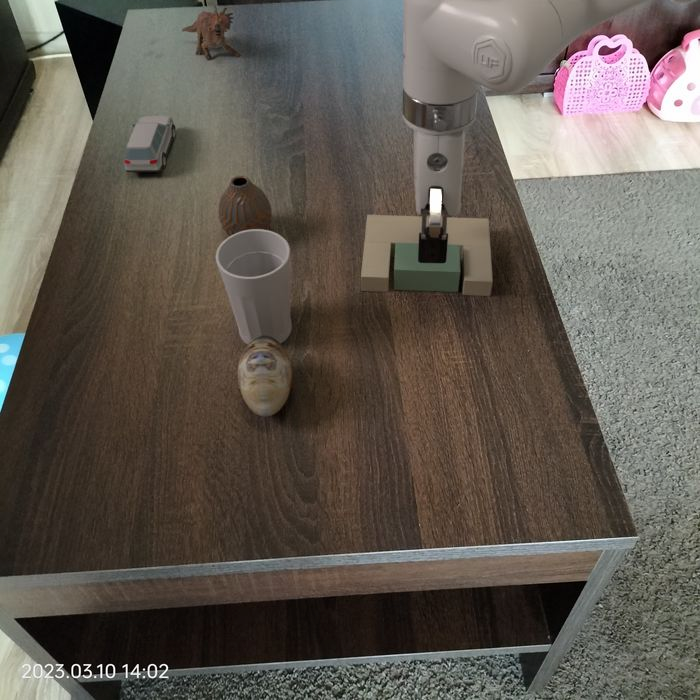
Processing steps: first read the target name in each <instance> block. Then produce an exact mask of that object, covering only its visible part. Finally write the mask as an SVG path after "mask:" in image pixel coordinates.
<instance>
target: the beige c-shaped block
mask: <svg viewBox="0 0 700 700" xmlns="http://www.w3.org/2000/svg"><path fill="white" fill-rule="evenodd" d="M427 226H429V216H427V220H426V228H427ZM441 227H442V216H441ZM421 229H422V215H419V216H418V215H394V214H393V215H392V214H391V215H390V214H367V215H366V223H365V232H364V233H365V234H364V243H363V253H362V261H361V264H362V265H361V271H360V272H361V273H360V291H361V292H377V293H378V292H379V293H388V292H389V286H390V271H391V260H392V259H391V258H395V246H396V243H419V233H421ZM446 233H448V244H453V245H460V261H461V284H462V285H461V287H462V288H461V289H462V290H461V291H462V296H478V297H491V295H492V288H493V282H494V281H493V279H494V278H493V265H492V252H491V251H492V249H491V248H492V247H491V235H490V219H489V218H485V217H484V218H482V217H481V218H480V217H478V218H477V217H455V216H447V231H446Z"/></svg>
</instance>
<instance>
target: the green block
mask: <svg viewBox="0 0 700 700" xmlns="http://www.w3.org/2000/svg"><path fill="white" fill-rule="evenodd" d="M418 248H419V243H396V246H395V257H394V265H393V290H394V291H411V292H412V291H415V292H416V291H417V292H441V293H443V292H444V293H459V286H460V279H461V260H460V245H453V244H448V245H447V258H446V262H445V263H420V262H418Z"/></svg>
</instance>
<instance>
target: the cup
mask: <svg viewBox="0 0 700 700" xmlns="http://www.w3.org/2000/svg"><path fill="white" fill-rule="evenodd" d="M215 261H216V265H217V268H218V270H219V271H218V272H219V273H220V276H221V279H222V282H223V285H224V288H225V291H226V294H227V298H228V301H229V304H230V307H231V310H232V313H233V315H234V319H235V322H236V325H237V329H238V333H239V337H240V339H241V340H242V342H243V343H245V344H246V345H248V344H249V343H250V342H252V341H253V340H254V339H256V338H257V337H259V336H262V335H268V336H270V337H272V338H274V339H276V340H277V341H278V342H279V343H280V344H281V345H282V343H284V342H285V341H287V339H288V338H289V337H290V335H291V333H292V330H293V329H292V328H293V326H292V317H291V286H290V285H291V281H290V279H291V278H290V277H291V248H290V244H289V243H288V241H287V240H286V239H285V238H284V237H283V236H282V235H281V234H279V233H277V232H275V231H272V230H270V229H269V230H263V229H251V230H245V231H241V232H238V233H236V234H233V235H231V236H230V237H229V236H227V238H225V239H224V240H223V241H222V242H221V243H220V244H219V246H218V247H217V249H216V252H215Z"/></svg>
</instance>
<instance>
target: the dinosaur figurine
mask: <svg viewBox="0 0 700 700" xmlns="http://www.w3.org/2000/svg"><path fill="white" fill-rule="evenodd" d="M213 6H214V7H213V12H212V11H208V12H207V11H202V12H201V13H199V14H198V16H197V19H196V20H195V21H194V23H192V25H189V26H186V27H183V28H182V29H181V32H187V33H196V34H197V37H196V38H197V46H196V51H195V52H194V53H195V55H199V56H201V55H202V54H203V55H204V54H205V55H204V57H205V59H206V61H211V60H213V59H214V57H213V56H212V55H211V54H210V49H208V48H209V47H210V48H211V49H212V48H214V49H215V48H217V49H218V48H221V47H223V49H225V50H226V51H229V52H230V53H232V55H233V56H234V57H236V58H237V57H239V56H241V52H239V51H237V50H236V49H235V48H234V47H232V46H231V45H229V44H228V43H227V42H226V37H225V33H228V31H230V29H231V25H232V24H234V22H233V20H234V19H235V18H234V17H233V15H234V13H233V12H228V13H226V11H227V10H228V7H224V8H222V10H221V11H219V12H218V10H217V9H218V8H217V6H216V5H213Z"/></svg>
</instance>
